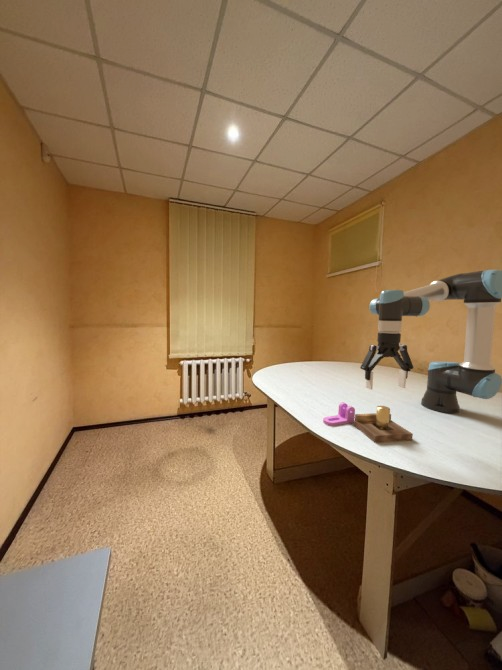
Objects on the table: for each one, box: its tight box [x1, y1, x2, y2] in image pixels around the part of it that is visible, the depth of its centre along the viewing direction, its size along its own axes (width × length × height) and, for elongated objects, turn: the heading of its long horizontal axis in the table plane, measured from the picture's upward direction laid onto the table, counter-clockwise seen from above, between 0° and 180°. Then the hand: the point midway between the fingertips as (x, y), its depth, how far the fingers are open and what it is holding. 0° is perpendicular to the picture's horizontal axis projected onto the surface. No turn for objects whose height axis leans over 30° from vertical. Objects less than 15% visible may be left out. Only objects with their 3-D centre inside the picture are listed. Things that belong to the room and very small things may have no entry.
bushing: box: [376, 405, 391, 430], centre depth 95 cm, size 4×4×10 cm
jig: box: [353, 412, 414, 443], centre depth 95 cm, size 15×13×5 cm
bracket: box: [323, 402, 356, 427], centre depth 104 cm, size 13×6×7 cm, turn 111°
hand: (385, 387), depth 94 cm, fingers open, 13 cm apart
